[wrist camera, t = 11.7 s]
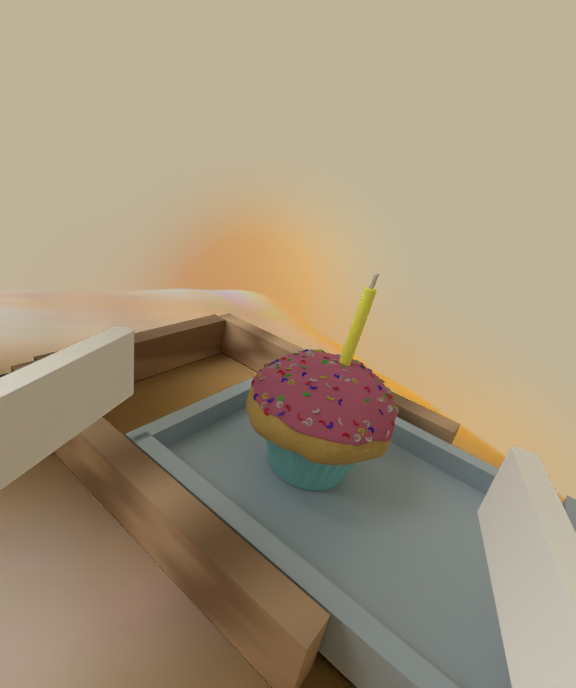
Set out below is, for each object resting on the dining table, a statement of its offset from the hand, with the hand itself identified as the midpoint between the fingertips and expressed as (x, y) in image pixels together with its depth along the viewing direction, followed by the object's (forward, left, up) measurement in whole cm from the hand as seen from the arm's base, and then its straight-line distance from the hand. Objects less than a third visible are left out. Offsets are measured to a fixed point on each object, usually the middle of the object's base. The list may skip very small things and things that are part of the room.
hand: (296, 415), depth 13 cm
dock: (-8, +8, -10) cm, 15 cm away
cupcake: (-3, +8, -9) cm, 12 cm away
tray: (+1, +8, -10) cm, 12 cm away
